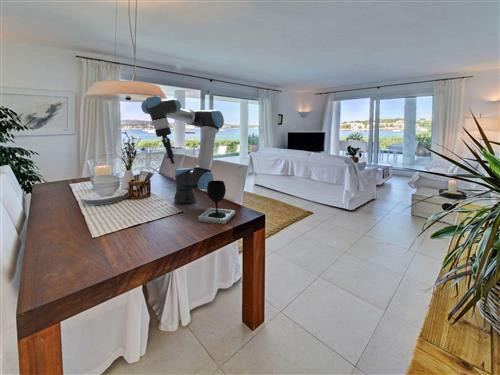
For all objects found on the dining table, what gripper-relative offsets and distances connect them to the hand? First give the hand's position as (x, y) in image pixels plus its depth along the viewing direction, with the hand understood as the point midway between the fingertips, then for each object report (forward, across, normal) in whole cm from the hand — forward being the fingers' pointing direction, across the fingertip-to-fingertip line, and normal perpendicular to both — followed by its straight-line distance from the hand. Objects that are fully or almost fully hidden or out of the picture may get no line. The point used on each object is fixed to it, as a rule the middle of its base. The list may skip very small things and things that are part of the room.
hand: (173, 167), depth 135 cm
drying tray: (+33, +8, +15) cm, 37 cm away
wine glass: (+33, +8, +15) cm, 37 cm away
